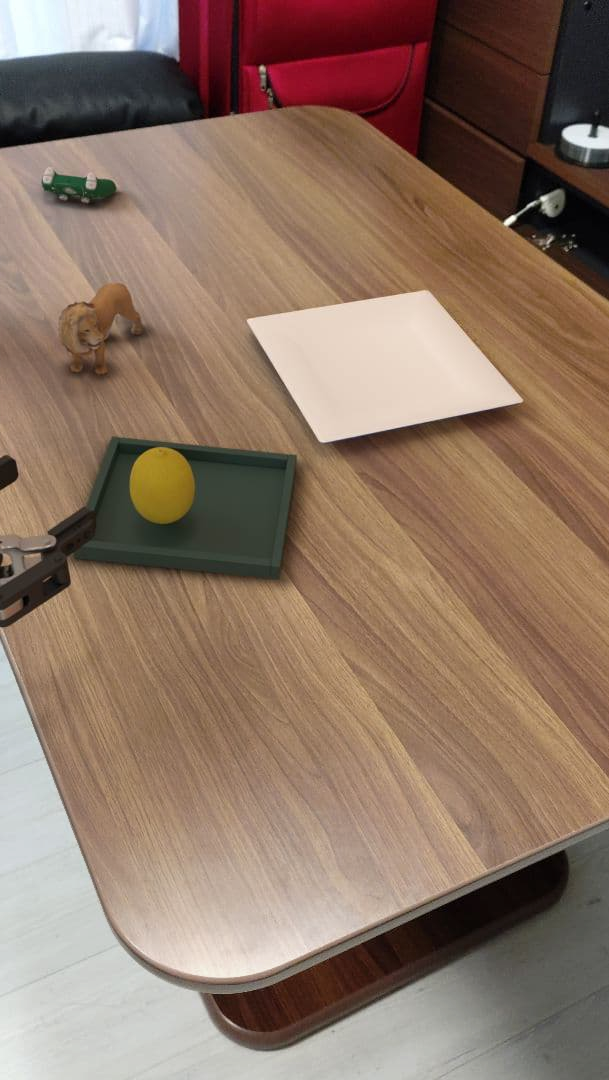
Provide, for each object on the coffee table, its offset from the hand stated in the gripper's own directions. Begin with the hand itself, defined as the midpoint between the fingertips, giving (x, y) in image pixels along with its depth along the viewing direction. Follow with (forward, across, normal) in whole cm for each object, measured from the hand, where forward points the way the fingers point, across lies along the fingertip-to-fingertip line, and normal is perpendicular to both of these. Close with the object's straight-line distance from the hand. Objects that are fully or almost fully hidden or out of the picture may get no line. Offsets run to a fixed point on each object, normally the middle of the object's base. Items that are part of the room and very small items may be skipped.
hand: (52, 490), depth 72 cm
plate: (+43, -1, +12) cm, 44 cm away
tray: (+14, 0, +12) cm, 18 cm away
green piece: (+48, +52, +11) cm, 71 cm away
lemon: (+11, 0, +11) cm, 16 cm away
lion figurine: (+25, +22, +12) cm, 36 cm away
